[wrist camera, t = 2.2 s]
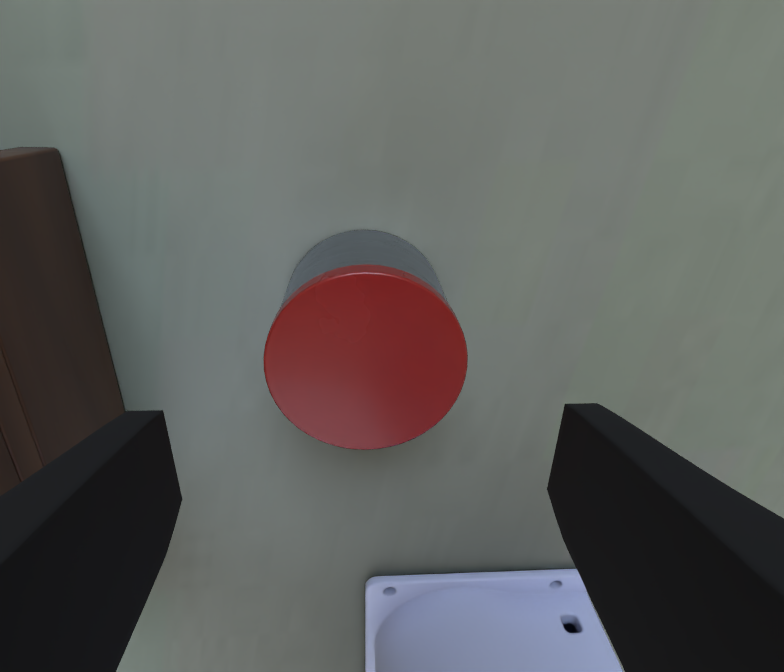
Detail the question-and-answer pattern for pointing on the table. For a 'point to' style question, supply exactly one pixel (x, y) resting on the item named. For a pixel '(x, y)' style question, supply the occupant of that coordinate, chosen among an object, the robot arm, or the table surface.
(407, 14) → the table surface
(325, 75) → the table surface
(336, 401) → the spice tin
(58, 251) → the rack
